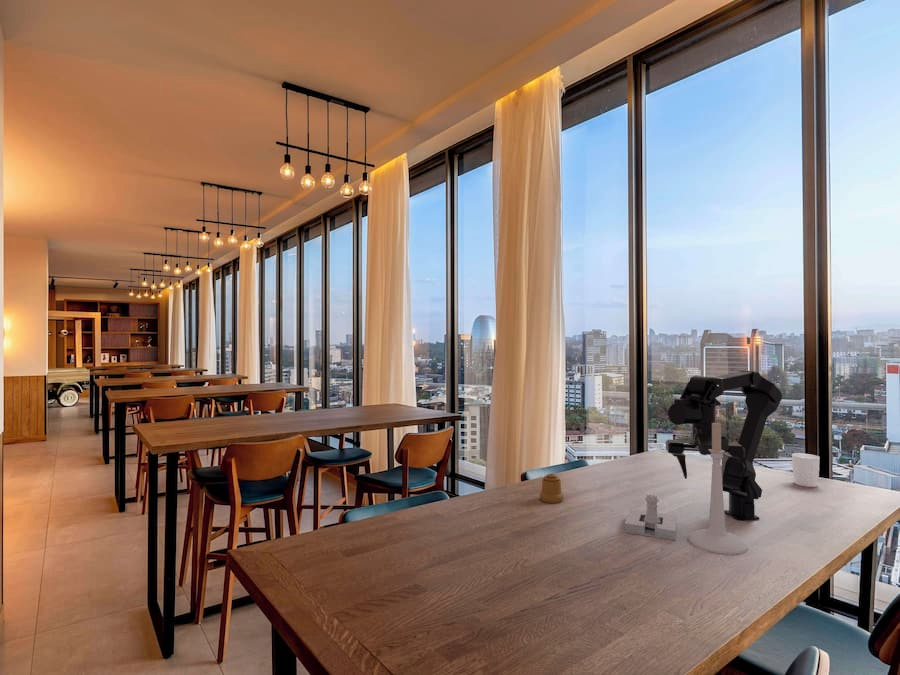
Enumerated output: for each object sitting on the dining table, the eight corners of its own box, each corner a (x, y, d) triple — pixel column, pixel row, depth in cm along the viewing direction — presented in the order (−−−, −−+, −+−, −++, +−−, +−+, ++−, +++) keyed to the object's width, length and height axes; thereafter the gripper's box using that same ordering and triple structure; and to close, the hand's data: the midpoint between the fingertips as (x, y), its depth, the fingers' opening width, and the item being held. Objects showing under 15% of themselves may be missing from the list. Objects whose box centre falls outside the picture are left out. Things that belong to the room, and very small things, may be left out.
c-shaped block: (629, 517, 138) (629, 509, 138) (676, 524, 132) (676, 515, 133) (624, 532, 127) (624, 523, 127) (675, 540, 122) (675, 530, 122)
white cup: (786, 482, 172) (786, 454, 172) (800, 480, 175) (800, 452, 175) (811, 488, 164) (811, 459, 165) (825, 486, 168) (824, 456, 168)
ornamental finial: (554, 495, 158) (568, 502, 151) (534, 498, 155) (547, 505, 148) (554, 470, 158) (568, 476, 151) (534, 472, 155) (547, 479, 148)
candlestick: (676, 537, 124) (676, 419, 124) (714, 530, 128) (713, 416, 129) (720, 558, 112) (719, 427, 112) (760, 549, 116) (759, 424, 117)
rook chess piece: (659, 524, 131) (659, 494, 131) (662, 530, 127) (662, 499, 127) (641, 522, 132) (641, 493, 132) (644, 528, 128) (644, 498, 128)
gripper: (671, 425, 128) (671, 485, 128) (751, 429, 123) (752, 491, 123) (665, 419, 139) (665, 474, 139) (738, 422, 134) (739, 479, 133)
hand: (704, 479), depth 133 cm, fingers open, 9 cm apart
